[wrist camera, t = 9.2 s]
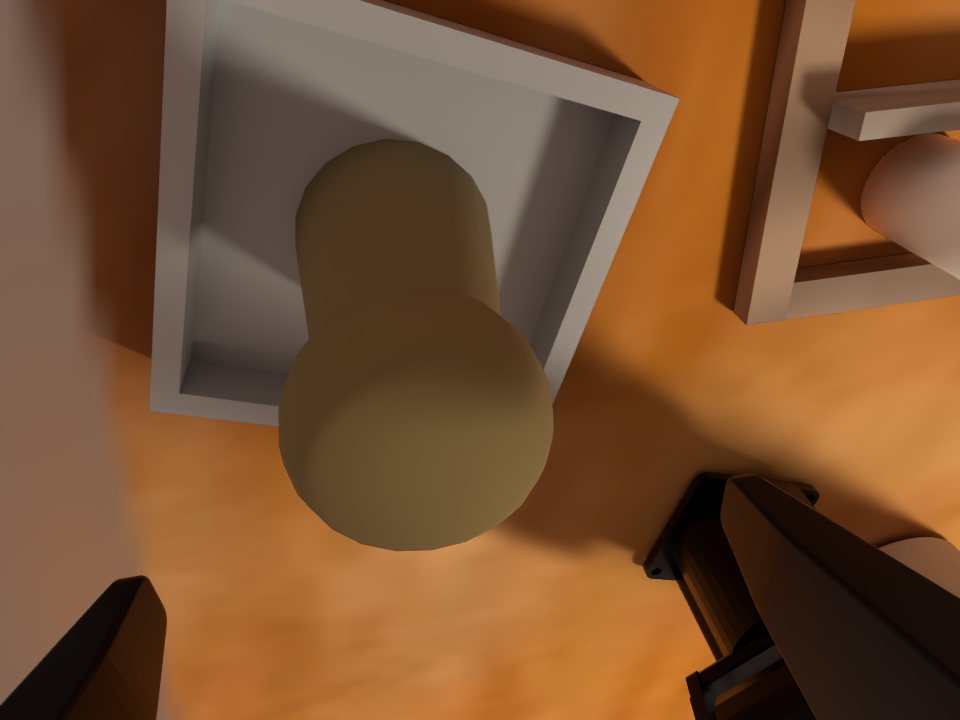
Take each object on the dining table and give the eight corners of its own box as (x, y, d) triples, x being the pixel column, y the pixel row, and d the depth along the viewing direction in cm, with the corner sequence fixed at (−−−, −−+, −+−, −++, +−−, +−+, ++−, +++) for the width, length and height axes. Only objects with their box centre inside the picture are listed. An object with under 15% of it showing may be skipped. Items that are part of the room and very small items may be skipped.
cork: (280, 304, 21) (221, 589, 12) (312, 113, 18) (267, 295, 9) (460, 337, 23) (531, 608, 14) (516, 168, 20) (654, 367, 11)
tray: (516, 415, 26) (531, 457, 24) (168, 366, 22) (149, 410, 20) (645, 81, 20) (679, 98, 18) (193, -59, 16) (169, -59, 14)
